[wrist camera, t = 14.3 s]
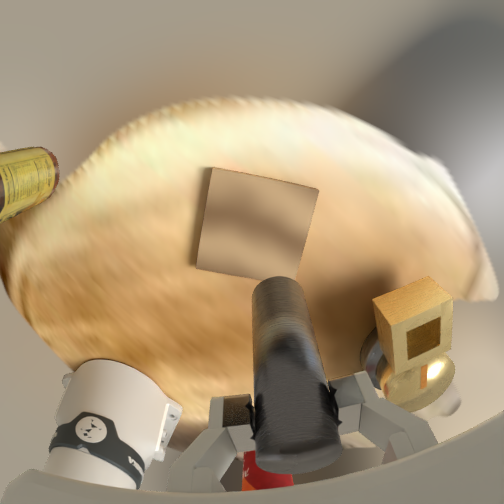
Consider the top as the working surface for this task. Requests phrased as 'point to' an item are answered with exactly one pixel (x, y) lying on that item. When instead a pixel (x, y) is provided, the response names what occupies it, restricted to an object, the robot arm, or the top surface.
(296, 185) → the wooden mat
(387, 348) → the chuck collar
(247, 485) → the paper cup
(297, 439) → the steel cylinder
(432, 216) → the top surface
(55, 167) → the sauce bottle
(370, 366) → the chuck base
